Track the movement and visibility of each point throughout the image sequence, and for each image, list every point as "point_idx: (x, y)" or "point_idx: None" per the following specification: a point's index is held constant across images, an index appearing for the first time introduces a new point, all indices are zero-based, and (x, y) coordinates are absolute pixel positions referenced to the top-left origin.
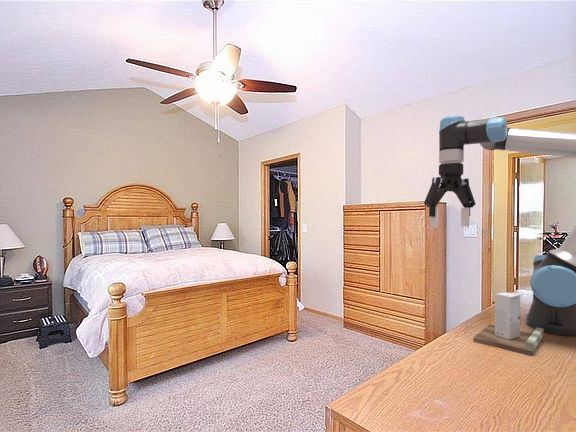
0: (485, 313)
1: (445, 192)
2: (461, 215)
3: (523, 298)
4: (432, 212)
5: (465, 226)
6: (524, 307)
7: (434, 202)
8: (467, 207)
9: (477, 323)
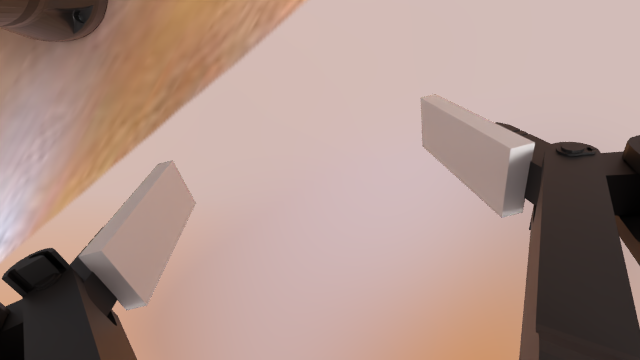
0: (170, 108)
1: (537, 326)
2: (171, 248)
3: (3, 217)
4: (525, 133)
5: (179, 175)
6: (38, 147)
7: (599, 172)
8: (93, 275)
9: (232, 35)
